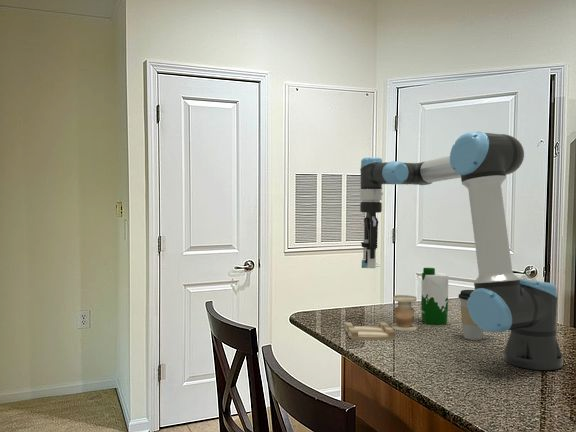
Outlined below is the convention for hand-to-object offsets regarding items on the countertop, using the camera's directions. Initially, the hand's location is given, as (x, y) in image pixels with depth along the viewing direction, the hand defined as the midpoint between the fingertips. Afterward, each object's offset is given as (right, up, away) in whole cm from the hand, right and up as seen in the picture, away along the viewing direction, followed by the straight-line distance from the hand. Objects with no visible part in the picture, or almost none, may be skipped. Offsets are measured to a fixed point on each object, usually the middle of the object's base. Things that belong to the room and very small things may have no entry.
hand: (370, 266), depth 196 cm
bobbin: (+11, -21, -6) cm, 24 cm away
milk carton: (+23, -21, +2) cm, 31 cm away
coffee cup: (+31, -22, -18) cm, 41 cm away
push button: (0, -1, 0) cm, 1 cm away
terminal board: (-3, -21, -15) cm, 26 cm away
